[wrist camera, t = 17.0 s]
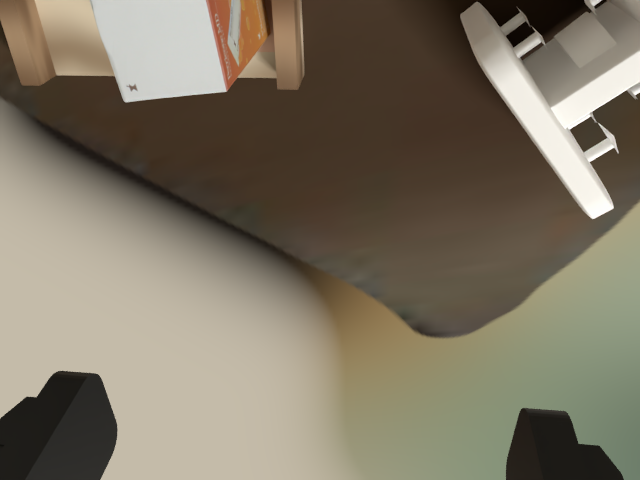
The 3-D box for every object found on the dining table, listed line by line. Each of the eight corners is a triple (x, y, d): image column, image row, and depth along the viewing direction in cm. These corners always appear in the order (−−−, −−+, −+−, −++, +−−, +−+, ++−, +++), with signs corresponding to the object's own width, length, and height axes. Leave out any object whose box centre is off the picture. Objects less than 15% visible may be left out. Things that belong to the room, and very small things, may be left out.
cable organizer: (446, 0, 40) (461, 46, 30) (590, -116, 35) (661, -105, 26) (554, 152, 45) (595, 232, 36) (690, 69, 41) (780, 135, 31)
